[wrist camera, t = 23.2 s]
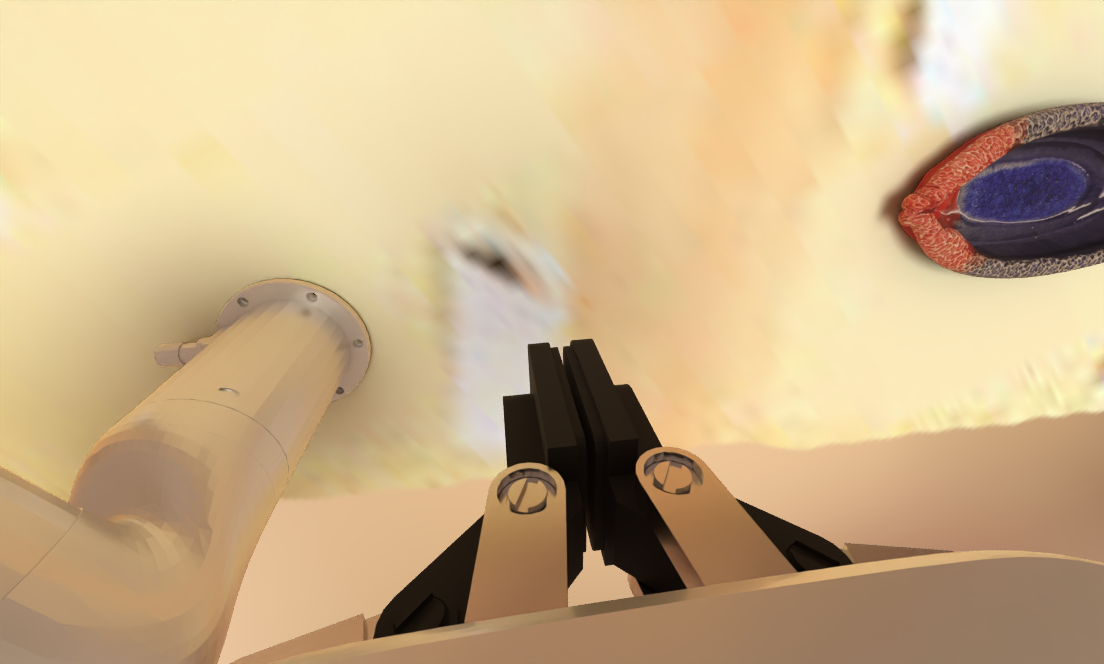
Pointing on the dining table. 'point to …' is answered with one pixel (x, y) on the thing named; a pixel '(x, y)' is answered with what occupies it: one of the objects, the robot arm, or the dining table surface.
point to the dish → (1017, 198)
